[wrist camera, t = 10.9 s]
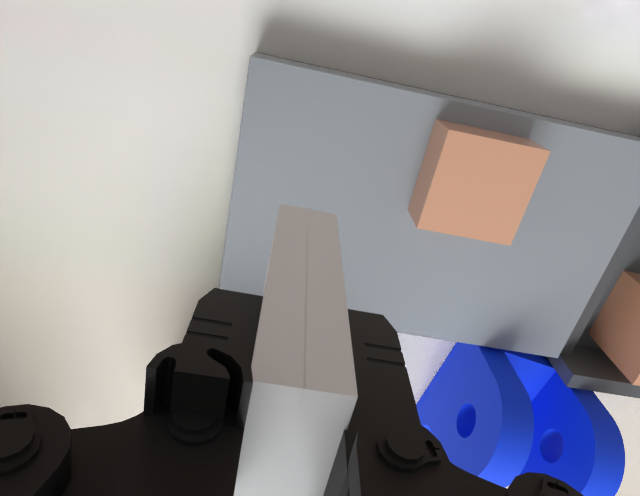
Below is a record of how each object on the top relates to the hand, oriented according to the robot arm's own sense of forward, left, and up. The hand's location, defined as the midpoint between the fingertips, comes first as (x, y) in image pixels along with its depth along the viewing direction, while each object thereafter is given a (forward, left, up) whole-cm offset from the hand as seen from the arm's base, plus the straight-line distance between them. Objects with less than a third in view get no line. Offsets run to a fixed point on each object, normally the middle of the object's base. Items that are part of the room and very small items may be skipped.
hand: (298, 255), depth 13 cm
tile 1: (+22, -7, -12) cm, 26 cm away
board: (+8, -4, -15) cm, 18 cm away
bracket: (+16, -20, -16) cm, 30 cm away
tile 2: (+9, 0, -13) cm, 15 cm away
